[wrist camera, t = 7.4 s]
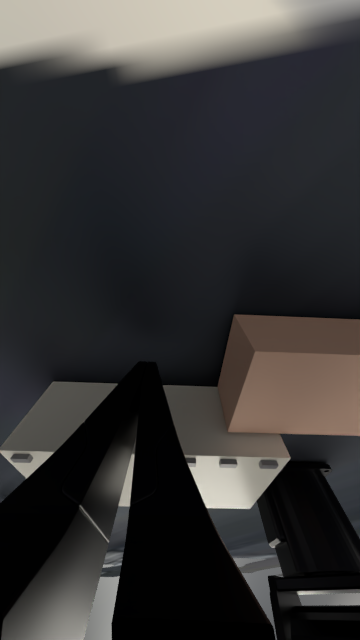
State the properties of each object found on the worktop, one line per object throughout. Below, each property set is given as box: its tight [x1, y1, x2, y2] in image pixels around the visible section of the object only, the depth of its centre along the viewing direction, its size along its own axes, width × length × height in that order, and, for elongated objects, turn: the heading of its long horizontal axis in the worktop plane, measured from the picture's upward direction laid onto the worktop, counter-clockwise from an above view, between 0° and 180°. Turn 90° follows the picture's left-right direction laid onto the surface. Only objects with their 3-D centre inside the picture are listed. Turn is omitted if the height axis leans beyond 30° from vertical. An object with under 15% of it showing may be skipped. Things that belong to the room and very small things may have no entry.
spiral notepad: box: [0, 381, 291, 509], centre depth 12 cm, size 14×8×4 cm, turn 88°
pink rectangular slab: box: [218, 314, 360, 436], centre depth 9 cm, size 11×5×3 cm, turn 88°
